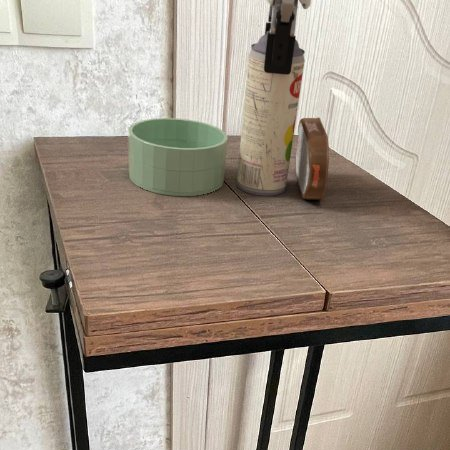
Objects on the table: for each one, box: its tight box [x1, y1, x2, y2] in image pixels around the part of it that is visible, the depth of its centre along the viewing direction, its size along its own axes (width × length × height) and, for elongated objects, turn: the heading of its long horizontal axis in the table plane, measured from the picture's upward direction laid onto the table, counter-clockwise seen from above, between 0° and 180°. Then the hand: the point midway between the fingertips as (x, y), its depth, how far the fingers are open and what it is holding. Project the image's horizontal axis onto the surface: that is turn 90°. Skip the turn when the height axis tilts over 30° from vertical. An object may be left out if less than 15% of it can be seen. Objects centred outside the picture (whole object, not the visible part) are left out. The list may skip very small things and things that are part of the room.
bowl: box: [127, 117, 229, 197], centre depth 84 cm, size 13×13×6 cm
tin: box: [294, 116, 330, 201], centre depth 85 cm, size 15×3×8 cm, turn 0°
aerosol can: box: [236, 19, 306, 197], centre depth 80 cm, size 7×7×20 cm
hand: (275, 64), depth 77 cm, fingers closed on aerosol can, 6 cm apart
